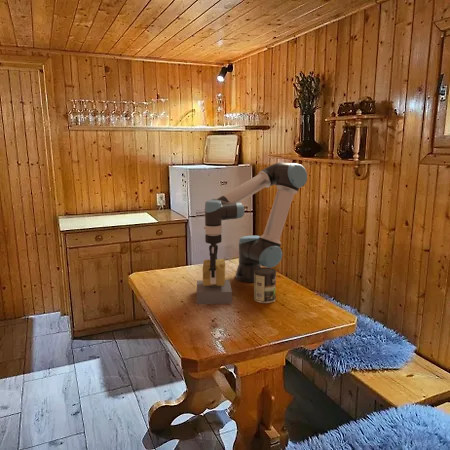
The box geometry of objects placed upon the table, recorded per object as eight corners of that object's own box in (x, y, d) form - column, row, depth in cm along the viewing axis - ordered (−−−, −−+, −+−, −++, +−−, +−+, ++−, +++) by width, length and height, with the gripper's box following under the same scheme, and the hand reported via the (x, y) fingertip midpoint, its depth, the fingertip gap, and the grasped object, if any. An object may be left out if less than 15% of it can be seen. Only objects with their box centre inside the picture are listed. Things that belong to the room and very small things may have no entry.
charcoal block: (229, 291, 202) (229, 279, 201) (231, 304, 186) (231, 291, 185) (197, 292, 201) (197, 280, 200) (196, 304, 186) (196, 292, 184)
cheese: (225, 286, 187) (224, 265, 185) (201, 286, 187) (201, 265, 185) (225, 278, 197) (225, 258, 195) (203, 278, 198) (202, 258, 196)
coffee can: (276, 295, 195) (277, 267, 192) (274, 304, 185) (275, 274, 182) (255, 294, 197) (255, 266, 194) (252, 302, 187) (252, 273, 184)
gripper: (206, 228, 199) (207, 271, 203) (203, 240, 176) (204, 288, 181) (222, 228, 198) (222, 271, 203) (220, 240, 176) (221, 288, 181)
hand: (213, 279), depth 192 cm, fingers open, 10 cm apart
